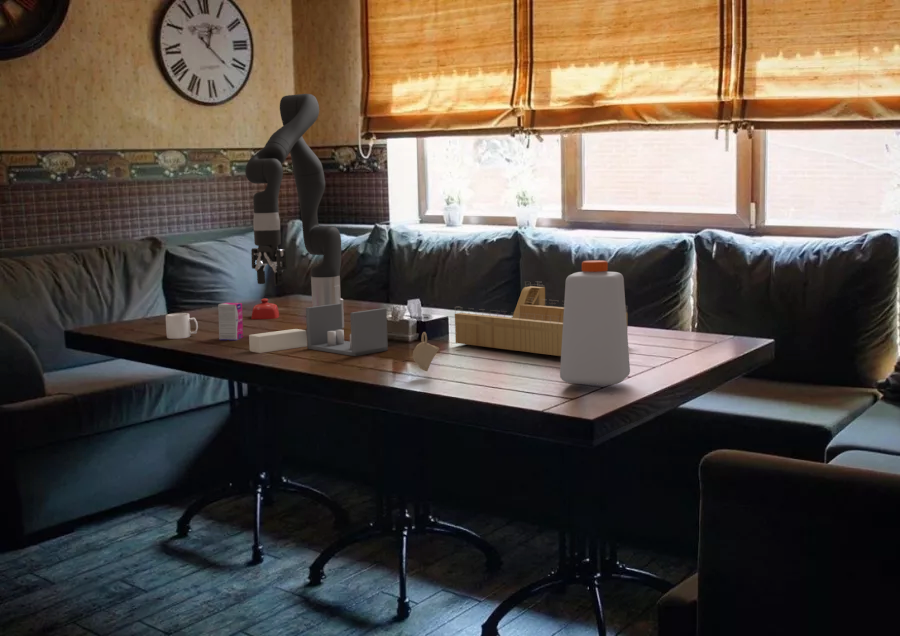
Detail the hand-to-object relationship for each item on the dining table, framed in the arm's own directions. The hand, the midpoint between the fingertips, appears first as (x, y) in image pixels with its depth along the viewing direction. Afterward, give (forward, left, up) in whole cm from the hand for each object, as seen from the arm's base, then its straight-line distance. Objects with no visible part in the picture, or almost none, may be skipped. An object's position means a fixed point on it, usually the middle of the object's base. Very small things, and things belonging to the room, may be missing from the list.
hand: (269, 284), depth 294 cm
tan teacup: (-3, +62, -19) cm, 65 cm away
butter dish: (-33, -51, -19) cm, 64 cm away
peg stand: (-12, +20, -19) cm, 30 cm away
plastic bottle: (-20, +101, -19) cm, 105 cm away
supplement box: (-2, -24, -19) cm, 31 cm away
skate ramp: (-54, +59, -19) cm, 82 cm away
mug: (+5, -41, -19) cm, 45 cm away
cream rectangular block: (-1, +2, -19) cm, 19 cm away
